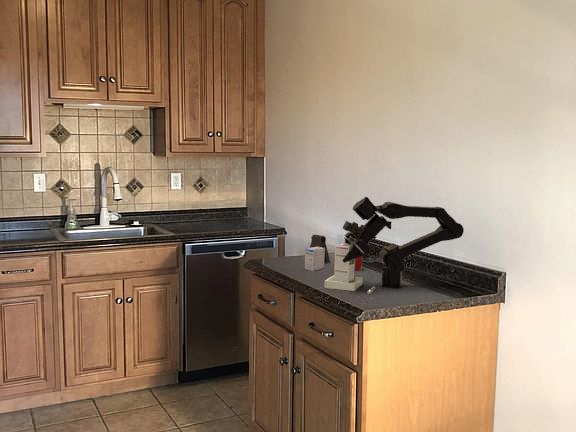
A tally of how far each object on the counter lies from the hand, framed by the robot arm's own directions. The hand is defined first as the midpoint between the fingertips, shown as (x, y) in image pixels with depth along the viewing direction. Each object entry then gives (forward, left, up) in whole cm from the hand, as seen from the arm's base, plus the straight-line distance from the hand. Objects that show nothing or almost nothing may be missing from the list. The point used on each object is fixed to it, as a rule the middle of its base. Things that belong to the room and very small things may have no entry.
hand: (340, 259), depth 233 cm
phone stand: (+22, -39, -10) cm, 46 cm away
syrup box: (-1, -1, -9) cm, 9 cm away
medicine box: (+19, -26, -10) cm, 33 cm away
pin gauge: (-12, +2, -10) cm, 16 cm away
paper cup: (+4, -33, -10) cm, 34 cm away
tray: (-1, -1, -10) cm, 10 cm away
